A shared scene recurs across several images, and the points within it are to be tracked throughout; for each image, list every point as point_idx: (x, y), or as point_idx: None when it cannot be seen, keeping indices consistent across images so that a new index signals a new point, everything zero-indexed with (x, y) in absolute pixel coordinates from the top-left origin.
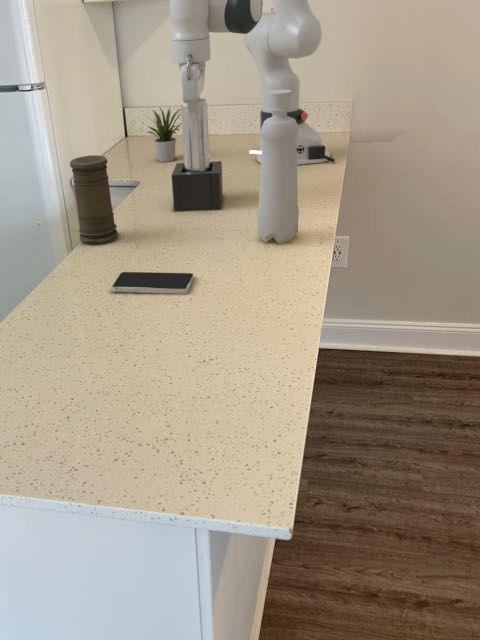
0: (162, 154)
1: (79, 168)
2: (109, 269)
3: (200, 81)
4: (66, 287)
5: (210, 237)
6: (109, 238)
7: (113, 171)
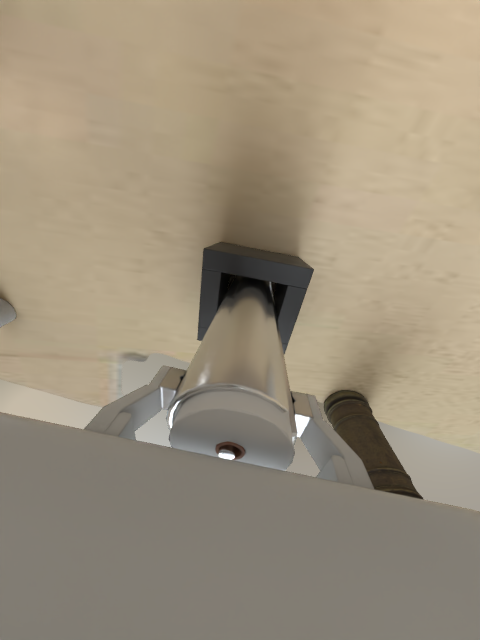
0: (3, 320)
1: None
2: (454, 403)
3: (186, 606)
4: (472, 433)
5: (431, 291)
6: (367, 401)
7: (76, 375)
